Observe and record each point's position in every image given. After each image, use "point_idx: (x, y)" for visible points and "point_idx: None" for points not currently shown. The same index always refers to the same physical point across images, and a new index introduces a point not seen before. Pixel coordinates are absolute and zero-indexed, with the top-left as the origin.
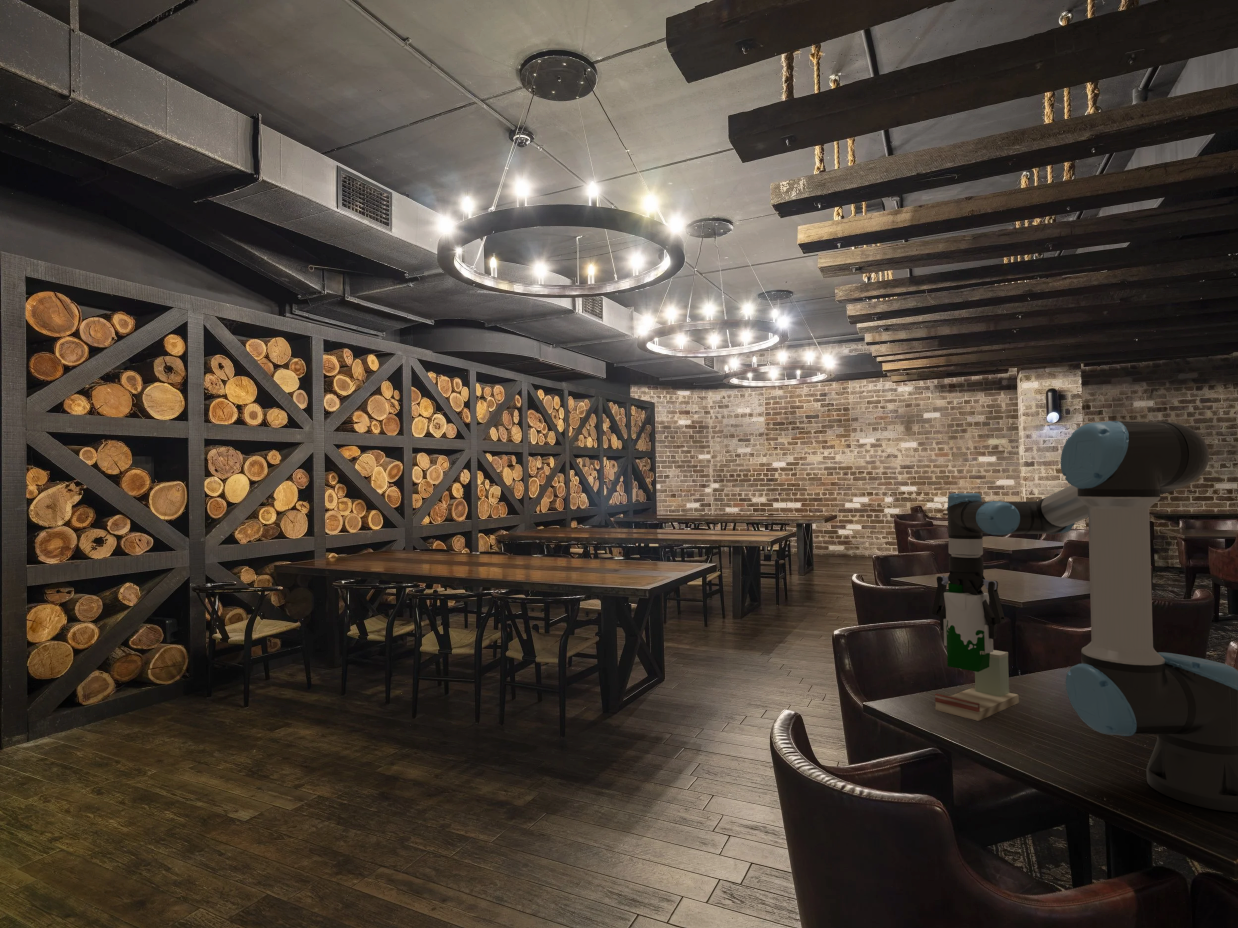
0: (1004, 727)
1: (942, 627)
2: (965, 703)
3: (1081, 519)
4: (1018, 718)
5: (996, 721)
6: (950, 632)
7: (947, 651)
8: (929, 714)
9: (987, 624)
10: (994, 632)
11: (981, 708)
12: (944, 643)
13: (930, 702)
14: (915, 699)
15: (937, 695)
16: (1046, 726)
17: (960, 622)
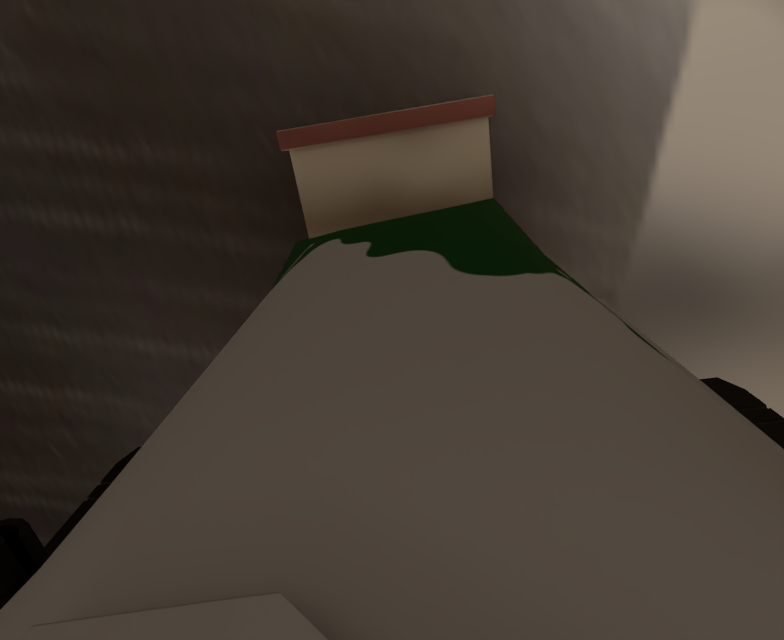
0: (195, 150)
1: (727, 402)
2: (336, 121)
3: None
4: (251, 301)
5: (259, 194)
6: (516, 246)
7: (525, 234)
8: (457, 4)
9: (22, 534)
10: (87, 509)
11: (313, 197)
12: (603, 304)
13: (553, 184)
14: (619, 163)
15: (480, 98)
16: (153, 301)
17: (344, 323)
